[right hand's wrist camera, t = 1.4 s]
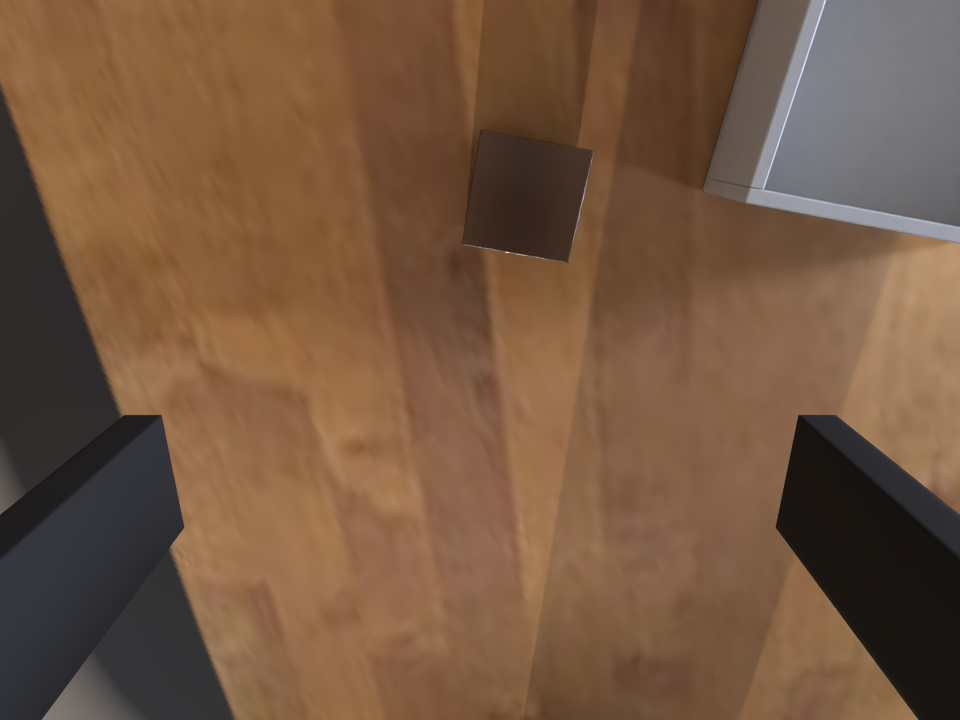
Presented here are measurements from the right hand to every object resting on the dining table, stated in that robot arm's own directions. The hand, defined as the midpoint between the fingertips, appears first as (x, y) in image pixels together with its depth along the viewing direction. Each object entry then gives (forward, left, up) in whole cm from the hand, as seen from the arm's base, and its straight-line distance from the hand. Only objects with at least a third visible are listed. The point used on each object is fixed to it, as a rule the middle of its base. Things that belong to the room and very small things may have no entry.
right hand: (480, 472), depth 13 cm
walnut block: (-1, -4, -18) cm, 19 cm away
